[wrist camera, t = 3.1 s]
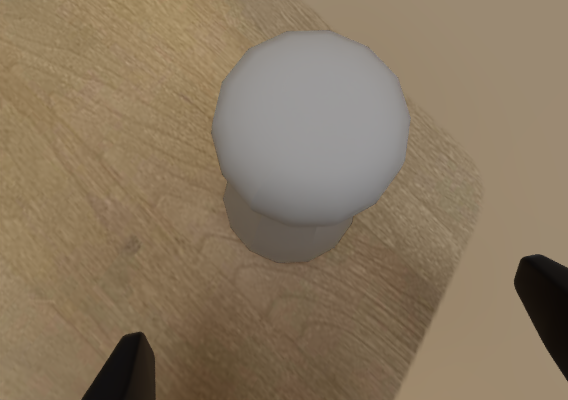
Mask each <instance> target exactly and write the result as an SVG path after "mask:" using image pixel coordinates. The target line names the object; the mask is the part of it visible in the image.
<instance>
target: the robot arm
mask: <svg viewBox="0 0 568 400" xmlns="http://www.w3.org/2000/svg"><path fill="white" fill-rule="evenodd" d="M514 286H515V289H516V291H517V293H518V295H519V297H520V299H521V301H522V303H523V305H524V307H525V309H526V311H527V313H528V315H529V316H530V318H531V320H532V322H533V324H534V326H535V328H536V330H537V332H538V334H539V336H540V338H541V340H542V341H543V343H544V345H545V347H546V349H547V350H548V352H549V353H550V355H551V357H552V358H553V360H554V361H555V363H556V364H557V365H558V367H559V369H560V370H561V372H562V373H563V375H564V376H565V378H566V380H567V381H568V268H567V267H565V266H563V265H561V264H559V263H557V262H555V261H553V260H551V259H549V258H547V257H545V256H543V255H540V254H535V255H531V256H526V257H523V258H522V259H521V260H520V263H519V266H518V269H517V272H516V275H515V279H514ZM81 400H156V394H155V357H154V353H153V350H152V348H151V346H150V344H149V342H148V340H147V338H146V336H145V335H144V333H142V332H136V333H131V334H126V335H124V336H123V337H122V338H121V340H120V341H119V343H118V344H117V346H116V347H115V349H114V350H113V352H112V354H111V355H110V357H109V358H108V360H107V361H106V363H105V364H104V366H103V367H102V369H101V370H100V372H99V373H98V375H97V376H96V378H95V380H94V381H93V383H92V384H91V386H90V387H89V389H88V390H87V392H86V393H85V395H84V396H83V398H82V399H81Z"/></svg>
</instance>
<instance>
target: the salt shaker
mask: <svg viewBox="0 0 568 400" xmlns="http://www.w3.org/2000/svg"><path fill="white" fill-rule="evenodd" d="M410 119H411V118H410V114H409V111H408V108H407V105H406V102H405V98H404V95H403V92H402V89H401V86H400V82H399V79H398V77H397V76H396V75H395V74H394V73H393V72H392V71H391V70H390V69H389V68H388V67H387V66H386V65H385V64H384V63H383V61H382V60H381V59H380V58H379V57H378V56H377V55H376V54H375V53H374V52H373V51H372V50H371V49H370V48H369V47H367V46H365V45H363V44H361V43H358V42H356V41H354V40H351V39H349V38H347V37H344V36H342V35H340V34H337V33H335V32H333V31H330V30H314V31H286V32H284V33H282V34H280V35H278V36H276V37H273V38H271V39H269V40H267V41H265V42H262V43H260V44H258V45H256V46H254V47H252V48H249V49H248V50H247V51H246V53H245V54H244V55H243V56H242V58H241V59H240V60H239V61H238V63H237V64H236V65H235V66H234V68H233V69H232V70H231V71H230V73H229V74H228V75H227V76H226V78H225V79H224V80H223V81H222V85H221V89H220V93H219V97H218V102H217V106H216V110H215V114H214V118H213V123H212V131H211V134H212V138H213V142H214V145H215V149H216V153H217V157H218V160H219V164H220V168H221V172H222V175H223V176H224V177H225V178H226V180H227V184H226V189H225V193H224V197H223V200H224V204H225V208H226V211H227V215H228V219H229V223H230V226H231V228H232V230H233V231H234V232H235V233H236V235H237V236H238V237H239V238H240V239H241V241H242V242H243V243H244V244H245V245H246V247H247V248H248V249H249V250H250V251H252V252H254V253H257V254H259V255H261V256H263V257H266V258H268V259H270V260H273V261H275V262H277V263H286V262H308V261H310V260H312V259H314V258H316V257H318V256H320V255H321V254H323V253H325V252H327V251H329V250H331V249H332V248H334V247H335V246H336V245H337V243H338V242H339V240H340V239H341V238H342V236H343V235H344V233H345V232H346V231H347V229H348V228H349V226H350V225H351V224H352V220H353V216H354V215H356V214H358V213H360V212H361V211H363V210H365V209H367V208H369V207H370V206H372V205H374V204H376V202H377V201H378V200H379V198H380V197H381V195H382V194H383V193H384V191H385V190H386V189H387V187H388V186H389V184H390V183H391V182H392V180H393V179H394V178H395V176H396V175H397V173H398V172H399V171H400V169H401V167H402V165H403V163H404V161H405V156H406V148H407V141H408V134H409V126H410Z"/></svg>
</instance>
